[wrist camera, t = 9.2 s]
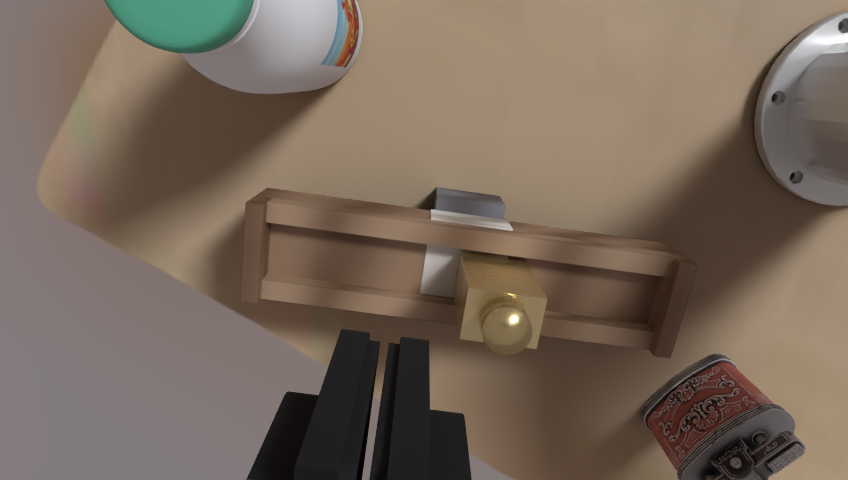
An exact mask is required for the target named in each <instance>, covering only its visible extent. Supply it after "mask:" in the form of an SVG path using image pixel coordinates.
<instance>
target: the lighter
mask: <svg viewBox="0 0 848 480" xmlns="http://www.w3.org/2000/svg"><path fill="white" fill-rule="evenodd" d="M640 416H641V420H642V421H643V423H644V425H645V426H646V428H647V429H648V430H649V431H650V432H651V433H653V434H654V436H655V438H656V439H657V441H658V442H659V444H660V445H661V447H662V449H663V450H664V452H665V453H666V455H667V456H668V458H669V460H670V461H671V463H672V464H673V466H674V467H675V469H676V470H677V475H678V479H679V480H768V478H769V477H770V476H771V475H773V474H774V473H775V474H776V473H777V472H779V471H780V470H782V469H783V468H785V467H786V466H788V465H789V464H790V463H792V462H793V461H795V460H796V459H798V458H799V457H800V456H802V455H803V454H804V453H805V446H804V444H803V443H802V442H801V441H800V440H799V439H798V438H797V437H796V436H795V435H794V434H793V433H794V429H795V423H794V420H793V418H792V417H791V415H790V414H788V413H787V412H786V411H785V410H784V409H783V408H782V407H780V406H779V405H776V404H774V403H773V402H772V401H770V400H769V399H768V398H767V397H766V396H765V395H764V394H763V393H762V392H761V391H760V390H759V389H758V388H757V387H756V386H754V385H753V384H752V383H751V382H750V381H749V380H748V379H747V378H746V377H745V376H744V375H743V374H742V373H741V372H739V370H738V368H737V366H736V365H735V364H734V363H733V362H732V361H731V360H730V359H729V358H728V357H726V356H725V355H722V354H712V355H709V356H707V357H705V358H704V359H702V360H700V361H698V362H696V363H694V364H692V365H690V366H689V367H687V368H686V369H685V370H683V371H682V372H680V373H679V374H677V375H676V376H674V377H673V378H671V379H670V380H669V381H668V382H667V383H666V384H665V385H663V386H662V387H661V388H660V389H659V390H658V391H657V392H656V393H655V394H654V395H653V396H652V397H651V398H650V399H649V400H648V401H647V402H646V403H645V404H644V406H643V407H642V409H641V412H640Z"/></svg>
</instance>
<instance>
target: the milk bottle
mask: <svg viewBox="0 0 848 480" xmlns="http://www.w3.org/2000/svg"><path fill="white" fill-rule="evenodd" d="M105 2H106V4H107V6H108V7H109V9H110V10H111V12H112V14H113V15H114V16H115V18H116V19H117V20H118V21H119V22H120V23H121V24H122V25H123V26H124V27H125V28H126V29H127V30H128V31H129V32H130V33H132V34H133V35H134V36H135V37H137V38H138V39H140V40H141V41H143V42H145V43H147V44H149V45H151V46H153V47H156V48H159V49H162V50H166V51H171V52H175V53H180V55H181V56H182V57H183V58H184V59H185V60H186V61H187V62H188V63H189V64H190V65H191V66H192V67H193V68H194V69H196V70H197V71H198V72H200V73H201V74H202V75H204V76H205V77H207V78H208V79H210V80H212V81H214V82H216V83H218V84H220V85H222V86H225V87H228V88H231V89H234V90H237V91H241V92H246V93H257V94H279V93H292V92H303V91H311V90H316V89H320V88H323V87H326V86H328V85H331V84H332V83H334V82H336V81H337V80H339V79H340V78H341V77H342V76H343V75H345V74H346V72H347V71H348V70H349V69H350V68H351V66H352V65H353V63H354V62H355V60H356V58H357V56H358V53H359V50H360V47H361V43H362V35H363V24H362V16H361V12H360V9H359V6H358V3H357V1H356V0H105Z"/></svg>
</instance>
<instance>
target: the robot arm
mask: <svg viewBox="0 0 848 480" xmlns="http://www.w3.org/2000/svg"><path fill="white" fill-rule="evenodd" d="M838 25H839V26H838ZM772 95H773V100H772V101H771V98H772ZM754 130H755V140H756V144H757V148H758V153H759V155H760V157H761V159H762V162H763V164H764V166H765V168H766V169H767V171H768V172H769V173H770V174H771V176H772V177H773V178H774V179H775V181H776V182H777V183H779V184H780V185H781V186H782V187H784V188H785V189H786V190H787V191H789V192H791V193H793V194H795V195H797V196H799V197H801V198H803V199H806V200H810V201H813V202H816V203H819V204H826V205H833V206H847V205H848V10H846V11H842V12H838V13H836V14H834V15H831V16H829V17H827V18H825V19H822V20H820V21H818V22H817V23H815V24H814V25H812V26H811V27H809V28H808V29H806V30H805V31H803V32H802V33H801V34H800V35H799V36H797V37H796V38H795V39H794V40H793V41H792V42H791V43H790V44H789V45H788V46H787V47H786V48H785V49H784V50H783V52H782V53H781V54H780V56H779V57H778V58H777V59H776V61H775V62H774V63H773V65H772V67H771V69H770V71H769V72H768V74H767V76H766V78H765V80H764V82H763V84H762V87H761V90H760V93H759V96H758V99H757V104H756V110H755V117H754ZM790 175H791V176H790ZM369 339H370V333H367V332H360V331H352V330H345V329H342V330H341V332H340V335H339V338H338V341H337V344H336V347H335V350H334V353H333V355H332V358H331V361H330V364H329V367H328V370H327V373H326V376H325V379H324V382H323V385H322V388H321V391H320V394H319V395H312V394H304V393H296V392H286V394H285V396H284V397H283V400H282V402H281V404H280V407H279V409H278V411H277V413H276V415H275V418H274V420H273V422H272V424H271V426H270V429H269V431H268V433H267V436H266V438H265V440H264V442H263V444H262V447H261V449H260V451H259V453H258V455H257V458H256V460H255V462H254V464H253V466H252V469H251V471H250V473H249V475H248V478H247V480H362V474H363V467H364V459H365V452H366V444H367V437H368V429H369V422H370V414H371V407H372V399H373V392H374V384H375V376H376V369H377V361H378V353H379V346H380V342H378V341H370V340H369ZM369 480H471V471H470V462H469V453H468V444H467V435H466V426H465V419H464V415H463V414H462V413H454V412H446V411H438V410H430V388H429V341H428V340H421V339H413V338H406V337H401V340H400V344H393V343H389V346H388V353H387V360H386V367H385V374H384V381H383V388H382V395H381V402H380V410H379V416H378V423H377V431H376V437H375V444H374V451H373V458H372V465H371V472H370V479H369Z"/></svg>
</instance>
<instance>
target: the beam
mask: <svg viewBox="0 0 848 480" xmlns="http://www.w3.org/2000/svg"><path fill="white" fill-rule="evenodd" d="M504 210H505V204H504V203H503V201H502V199H501V198H500V196H495V195H487V194H480V193H473V192H466V191H459V190H452V189H445V188H438V187H437V188H436V195H435V202H434V208H433V209H431V210H423V209H416V208H409V207H402V206H395V205H387V204H380V203H373V202H366V201H359V200H351V199H344V198H337V197H330V196H323V195H315V194H308V193H301V192H294V191H287V190H279V189H272V188H266V189H265V190H263V191H262V192H261V193H259V194H258V195H256V196H255V197H253V198H252V199H250V200H249V201H247V202H246V205H245V223H244V241H243V259H242V277H241V295H240V302H248V303H256V304H257V303H258V302H259V301H260V299H267V300H275V301H282V302H290V303H298V304H305V305H313V306H320V307H328V308H335V309H343V310H351V311H358V312H366V313H373V314H381V315H388V316H396V317H403V318H411V319H419V320H426V321H434V322H441V323H449V324H456V325H458V322H457V314H456V307H455V299H454V289H455V283H456V277H457V271H458V265H459V259H460V253H461V251H467V252H474V253H482V254H489V255H496V256H504V257H511V258H518V259H526V261H527V262H528V264H529V266H530V268H531V270H532V272H533V273H534V275H535V277H536V279H537V281H538V282H539V284H540V286H541V288H542V290H543V292H544V293H545V295H546V297H547V303H546V308H545V313H544V317H543V322H542V326H541V331H540V336H547V337H555V338H562V339H570V340H577V341H585V342H593V343H600V344H608V345H615V346H623V347H630V348H638V349H646V350H650V351H651V353H652V354H653V355H654V356H657V357H665V358H671V355H672V351H673V348H674V345H675V341H676V338H677V334H678V331H679V327H680V324H681V320H682V317H683V313H684V310H685V306H686V303H687V299H688V296H689V292H690V289H691V285H692V282H693V279H694V275H695V272H696V268H697V264H695V263H694V262H692V261H691V260H689V259H688V258H687V257H685V256H684V255H682V254H681V253H679V252H678V251H676V250H675V249H673V248H672V247H671V246H669V245H668V244H666V243H661V242H654V241H647V240H639V239H632V238H625V237H618V236H611V235H603V234H596V233H589V232H582V231H575V230H567V229H560V228H553V227H546V226H539V225H531V224H524V223H517V222H510V221H508V220H505V219H503V215H504Z"/></svg>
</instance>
